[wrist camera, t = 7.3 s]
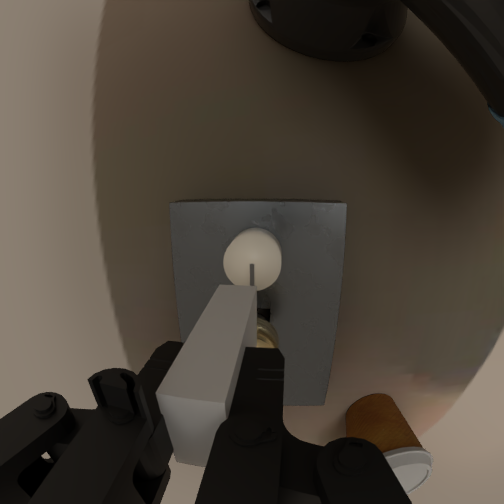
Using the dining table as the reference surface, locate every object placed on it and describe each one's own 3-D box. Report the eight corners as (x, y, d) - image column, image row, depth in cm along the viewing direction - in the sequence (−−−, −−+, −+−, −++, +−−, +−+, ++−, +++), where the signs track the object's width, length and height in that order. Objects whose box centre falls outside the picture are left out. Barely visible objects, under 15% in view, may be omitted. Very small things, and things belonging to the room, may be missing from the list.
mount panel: (181, 199, 26) (169, 202, 23) (339, 200, 24) (346, 203, 22) (196, 381, 31) (190, 397, 28) (321, 387, 29) (324, 405, 26)
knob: (236, 221, 26) (222, 234, 20) (281, 222, 25) (281, 235, 19) (236, 265, 27) (223, 290, 21) (281, 266, 26) (280, 292, 20)
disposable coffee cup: (323, 433, 31) (329, 510, 20) (348, 380, 29) (369, 464, 17) (387, 435, 31) (406, 502, 19) (418, 384, 28) (453, 454, 17)
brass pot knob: (231, 299, 24) (216, 336, 18) (280, 301, 24) (279, 339, 18) (233, 340, 25) (220, 382, 19) (278, 342, 25) (276, 386, 19)
